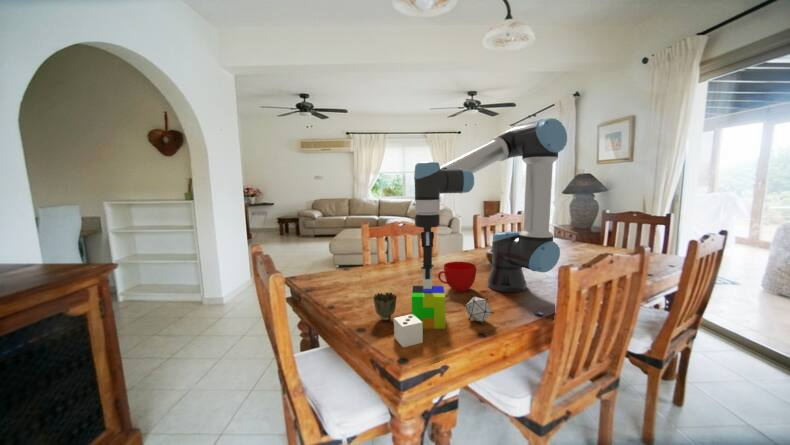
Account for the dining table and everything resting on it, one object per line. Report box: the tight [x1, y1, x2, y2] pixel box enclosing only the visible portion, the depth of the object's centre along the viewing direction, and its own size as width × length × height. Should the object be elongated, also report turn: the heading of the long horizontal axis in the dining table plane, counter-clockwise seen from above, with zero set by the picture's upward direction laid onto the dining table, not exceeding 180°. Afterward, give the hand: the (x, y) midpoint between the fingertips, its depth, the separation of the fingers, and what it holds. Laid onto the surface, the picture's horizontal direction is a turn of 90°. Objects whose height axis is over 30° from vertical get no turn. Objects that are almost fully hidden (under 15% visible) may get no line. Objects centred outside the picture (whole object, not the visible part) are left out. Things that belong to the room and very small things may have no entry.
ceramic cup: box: [437, 261, 477, 293], centre depth 125 cm, size 13×17×10 cm
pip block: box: [393, 313, 424, 348], centre depth 86 cm, size 6×6×6 cm
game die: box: [462, 293, 495, 325], centre depth 97 cm, size 9×8×10 cm
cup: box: [373, 292, 397, 322], centre depth 99 cm, size 8×7×8 cm
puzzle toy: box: [411, 285, 446, 330], centre depth 98 cm, size 10×10×10 cm
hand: (427, 287), depth 97 cm, fingers closed
